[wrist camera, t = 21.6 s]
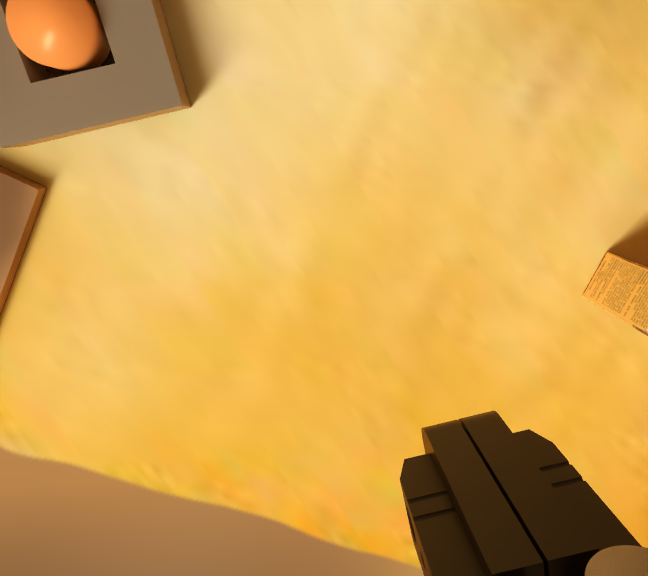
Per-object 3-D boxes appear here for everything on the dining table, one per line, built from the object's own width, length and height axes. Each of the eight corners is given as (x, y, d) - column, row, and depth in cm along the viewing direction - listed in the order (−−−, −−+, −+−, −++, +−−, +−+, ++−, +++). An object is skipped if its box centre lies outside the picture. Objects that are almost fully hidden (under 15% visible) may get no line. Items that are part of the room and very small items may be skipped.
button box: (-50, -46, 30) (-86, -64, 27) (134, -88, 30) (118, -111, 27) (25, 146, 33) (1, 147, 30) (190, 107, 33) (182, 105, 30)
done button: (24, 2, 30) (-9, -14, 27) (96, -15, 30) (73, -33, 27) (52, 80, 32) (25, 74, 28) (121, 64, 32) (102, 56, 28)
